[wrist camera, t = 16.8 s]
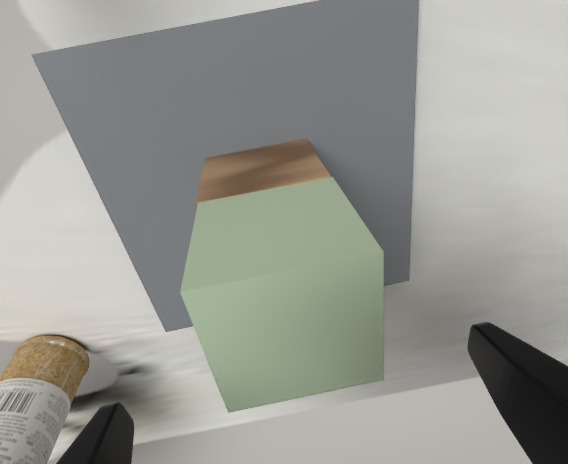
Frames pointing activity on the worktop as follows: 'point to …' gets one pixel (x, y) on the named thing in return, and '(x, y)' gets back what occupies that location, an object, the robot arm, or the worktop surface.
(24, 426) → the sprinkles bottle
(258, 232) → the sage brick
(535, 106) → the worktop surface
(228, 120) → the baseplate
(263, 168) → the brown wooden cube
